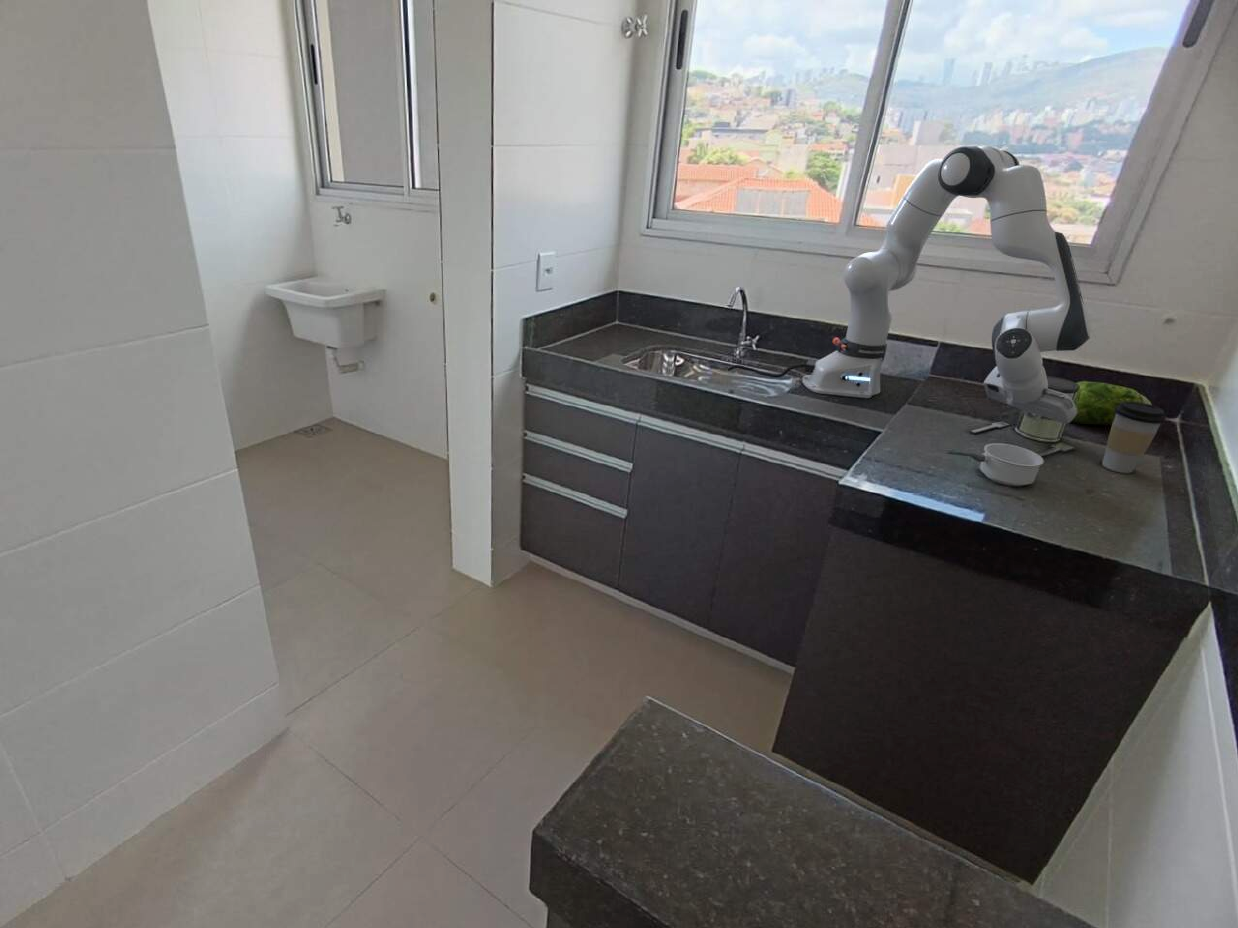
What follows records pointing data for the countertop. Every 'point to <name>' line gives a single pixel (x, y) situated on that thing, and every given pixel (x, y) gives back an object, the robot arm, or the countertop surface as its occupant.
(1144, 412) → the coffee cup
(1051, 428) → the coffee can
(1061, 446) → the spoon
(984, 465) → the saucepan
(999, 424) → the fork
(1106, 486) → the countertop surface
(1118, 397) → the green oval lump
